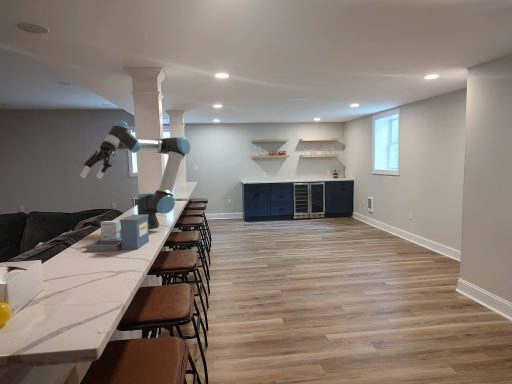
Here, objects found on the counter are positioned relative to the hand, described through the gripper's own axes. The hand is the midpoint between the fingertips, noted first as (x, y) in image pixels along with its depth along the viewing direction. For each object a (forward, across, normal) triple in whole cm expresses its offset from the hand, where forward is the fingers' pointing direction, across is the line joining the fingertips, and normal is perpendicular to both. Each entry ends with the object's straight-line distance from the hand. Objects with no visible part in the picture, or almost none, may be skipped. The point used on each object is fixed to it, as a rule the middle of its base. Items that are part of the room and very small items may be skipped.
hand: (90, 177), depth 164 cm
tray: (+29, +11, +21) cm, 38 cm away
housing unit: (+23, +19, +30) cm, 42 cm away
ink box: (+24, +2, +28) cm, 37 cm away
